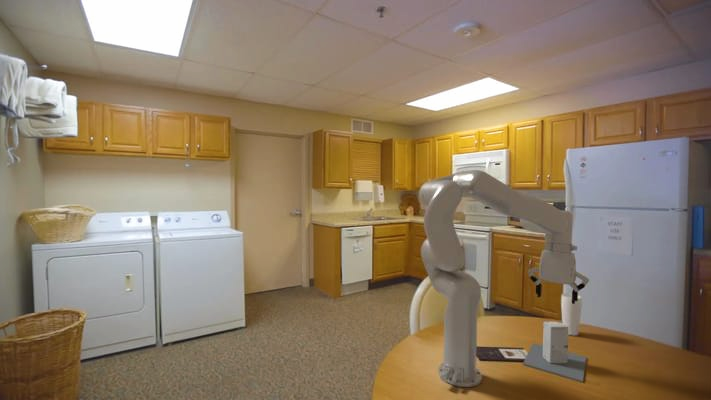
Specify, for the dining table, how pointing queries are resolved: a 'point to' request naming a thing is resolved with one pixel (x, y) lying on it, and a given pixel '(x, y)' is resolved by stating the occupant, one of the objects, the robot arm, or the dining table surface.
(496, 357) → the chocolate bar
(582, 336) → the dining table surface
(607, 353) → the dining table surface
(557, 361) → the skincare box
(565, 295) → the white hollow tapered cylinder
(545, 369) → the mat
